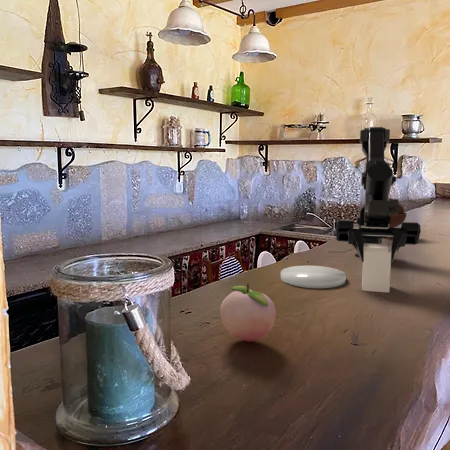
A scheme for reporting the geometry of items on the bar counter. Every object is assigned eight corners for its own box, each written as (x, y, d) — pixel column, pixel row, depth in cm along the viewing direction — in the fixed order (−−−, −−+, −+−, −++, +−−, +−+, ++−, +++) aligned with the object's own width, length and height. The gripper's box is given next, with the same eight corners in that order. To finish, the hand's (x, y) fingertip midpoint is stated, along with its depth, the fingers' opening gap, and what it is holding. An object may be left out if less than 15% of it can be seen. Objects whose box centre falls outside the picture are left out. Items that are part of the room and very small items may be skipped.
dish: (317, 268, 123) (317, 263, 123) (359, 282, 109) (360, 276, 109) (268, 275, 116) (268, 269, 116) (306, 291, 102) (306, 285, 102)
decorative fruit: (209, 341, 75) (208, 283, 73) (242, 328, 80) (242, 274, 79) (250, 359, 68) (251, 296, 67) (284, 343, 74) (285, 284, 72)
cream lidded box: (361, 283, 108) (363, 243, 107) (387, 285, 107) (389, 244, 105) (362, 290, 103) (364, 247, 101) (389, 292, 101) (391, 249, 100)
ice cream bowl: (386, 241, 161) (388, 199, 159) (368, 236, 172) (370, 197, 170) (411, 239, 164) (414, 199, 162) (392, 234, 175) (394, 196, 172)
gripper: (337, 186, 107) (334, 239, 99) (422, 187, 102) (426, 244, 93) (338, 214, 116) (334, 266, 107) (415, 217, 111) (418, 271, 102)
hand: (376, 261), depth 102 cm, fingers closed on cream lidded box, 6 cm apart
